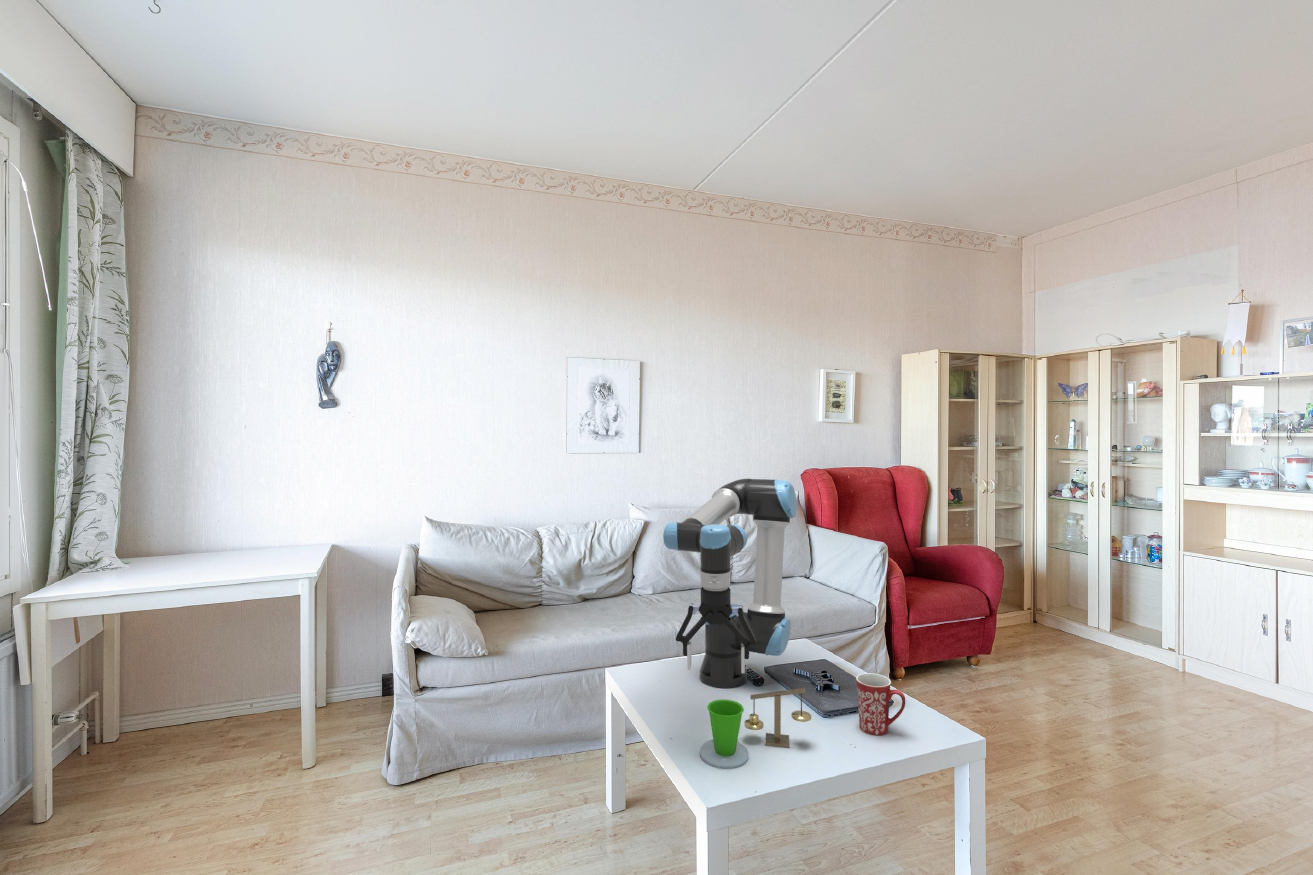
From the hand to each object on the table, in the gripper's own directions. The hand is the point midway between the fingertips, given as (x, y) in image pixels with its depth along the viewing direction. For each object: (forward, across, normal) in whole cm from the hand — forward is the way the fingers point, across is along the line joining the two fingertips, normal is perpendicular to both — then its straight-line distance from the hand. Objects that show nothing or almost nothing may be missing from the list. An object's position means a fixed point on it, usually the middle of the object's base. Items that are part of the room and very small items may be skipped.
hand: (716, 669), depth 158 cm
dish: (+20, +2, -4) cm, 20 cm away
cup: (+19, +2, -4) cm, 20 cm away
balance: (+20, +15, +5) cm, 26 cm away
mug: (+21, +43, +15) cm, 50 cm away
